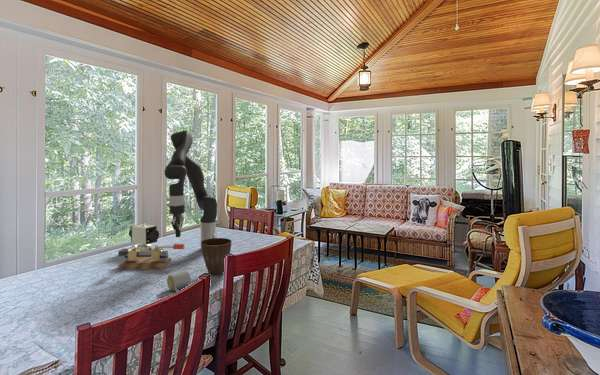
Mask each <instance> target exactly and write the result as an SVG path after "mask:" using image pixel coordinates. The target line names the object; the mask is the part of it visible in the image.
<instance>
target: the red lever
mask: <svg viewBox="0 0 600 375" xmlns="http://www.w3.org/2000/svg"><path fill="white" fill-rule="evenodd" d="M154 248H155V249H158V248H163V249H173V250H184V249H185V243H174V244H173V245H154Z"/></svg>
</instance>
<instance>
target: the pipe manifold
mask: <svg viewBox="0 0 600 375" xmlns="http://www.w3.org/2000/svg"><path fill="white" fill-rule="evenodd" d="M139 258H151V260H161V263H166V262H167V261H168V258H169V250H166V249H164V248H158V249H155V247H153V249H152V250H141V248H135V249H132V250H131V251H129V252H128V254H126V255H125V256H123V257H122V263H128V262H130V261H131V260H138V259H139Z"/></svg>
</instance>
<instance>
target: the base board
mask: <svg viewBox="0 0 600 375" xmlns="http://www.w3.org/2000/svg"><path fill="white" fill-rule="evenodd" d="M172 261H173V258H172V257H168V261H167V262H166V263H161V260H151V257H141V258H139V259H138V260H131V261H130V262H128V263H123V262H122V263H119V265H118V270H163V269H164V268H166V267H167V266H168V265H169V264H170V263H172Z"/></svg>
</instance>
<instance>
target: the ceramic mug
mask: <svg viewBox="0 0 600 375" xmlns="http://www.w3.org/2000/svg"><path fill="white" fill-rule="evenodd" d="M191 282H192V281H191V276H190V274H189V271H188V270H187V269H183V270H181V271H177V272H174V273H171V274H169V275H167V279H166V284H167V287H168V290H169V291H172V292H173V291H175V292H176V293H177V291H180V290H183V288H184V287H186V286H188V285H189V284H190V285H191V284H192V283H191ZM184 289H185V288H184Z"/></svg>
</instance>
